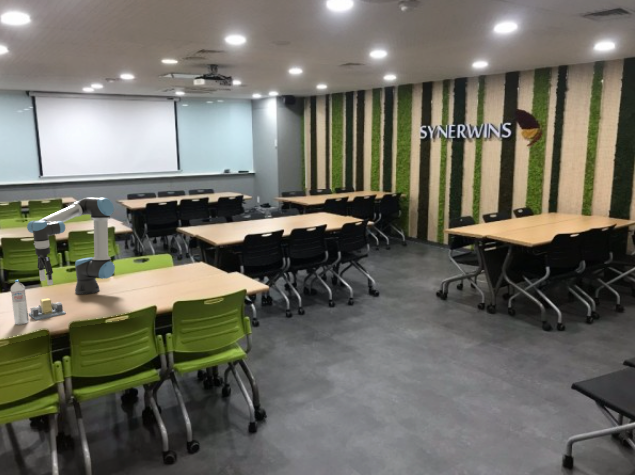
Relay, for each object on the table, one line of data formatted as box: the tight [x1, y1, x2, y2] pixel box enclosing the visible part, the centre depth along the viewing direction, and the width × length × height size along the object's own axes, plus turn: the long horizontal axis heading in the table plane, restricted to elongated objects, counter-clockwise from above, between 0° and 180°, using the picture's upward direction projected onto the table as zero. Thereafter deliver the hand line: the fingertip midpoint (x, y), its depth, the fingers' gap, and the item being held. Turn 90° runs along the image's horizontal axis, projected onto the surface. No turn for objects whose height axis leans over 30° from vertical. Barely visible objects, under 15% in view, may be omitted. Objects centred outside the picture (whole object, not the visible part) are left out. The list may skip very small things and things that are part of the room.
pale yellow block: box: [39, 297, 52, 314], centre depth 297 cm, size 4×4×8 cm
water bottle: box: [10, 279, 29, 326], centre depth 282 cm, size 7×7×25 cm
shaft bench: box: [28, 301, 67, 321], centre depth 298 cm, size 14×16×6 cm
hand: (46, 282), depth 297 cm, fingers open, 13 cm apart
